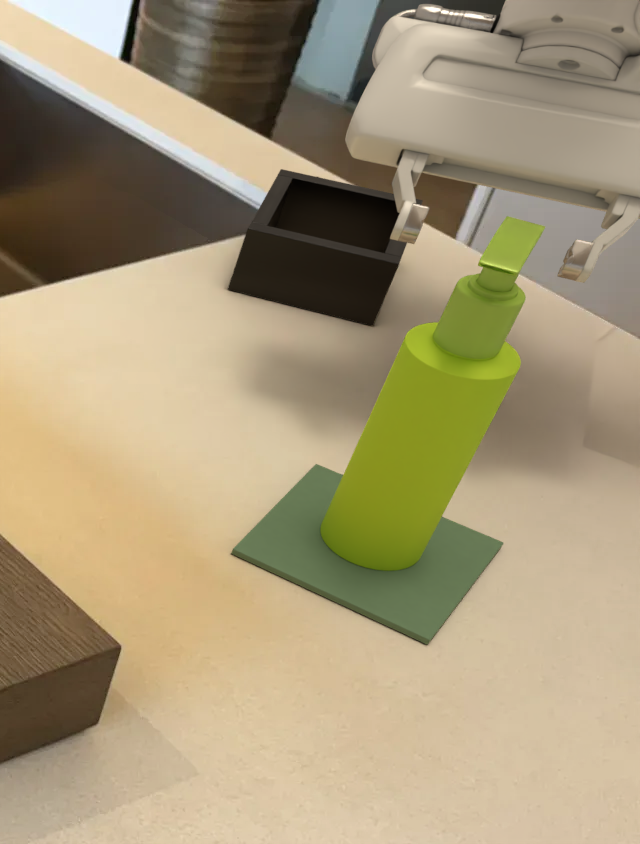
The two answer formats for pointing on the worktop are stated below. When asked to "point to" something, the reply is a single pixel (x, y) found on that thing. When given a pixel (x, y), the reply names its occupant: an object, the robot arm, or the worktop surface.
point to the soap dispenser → (432, 413)
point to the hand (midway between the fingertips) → (486, 257)
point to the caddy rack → (321, 247)
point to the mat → (359, 586)
